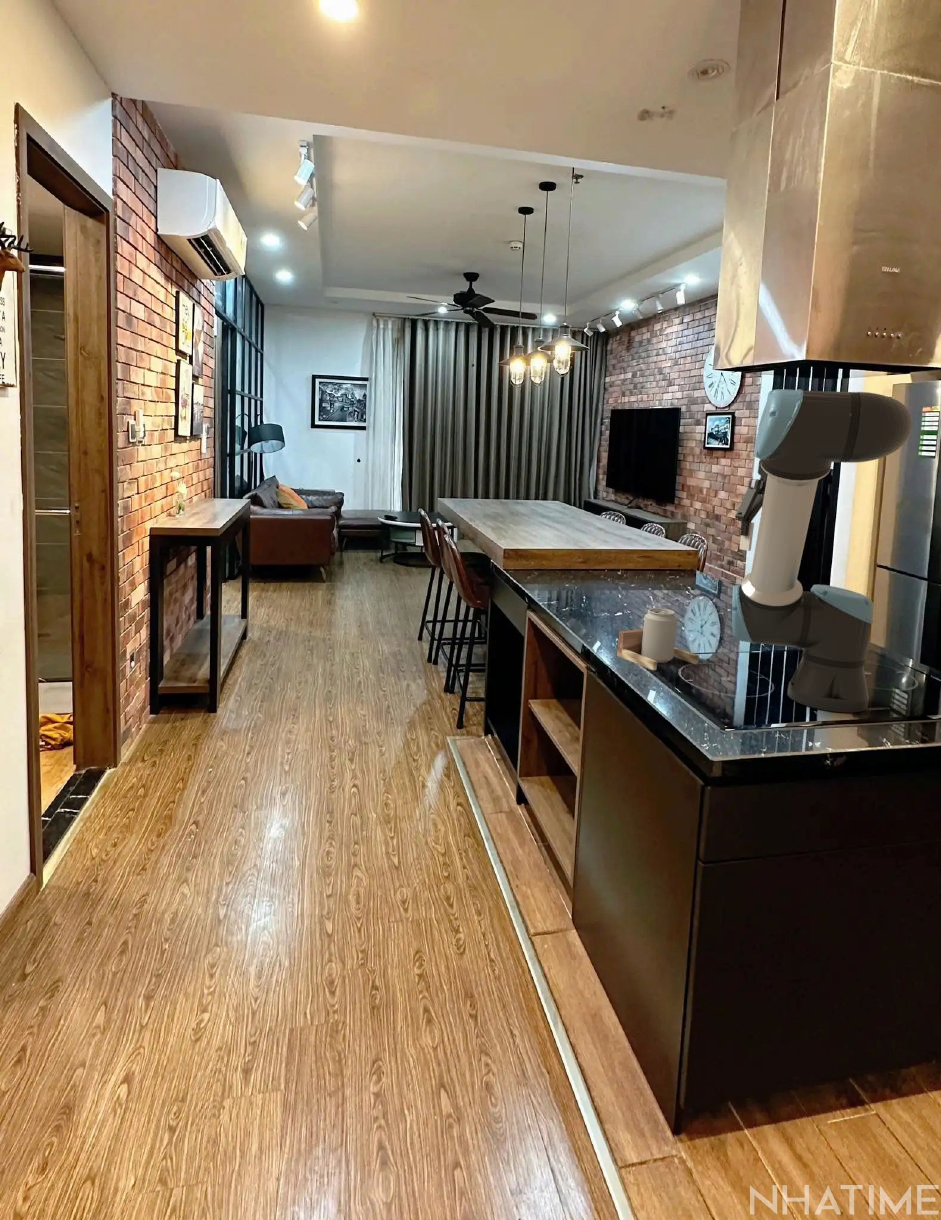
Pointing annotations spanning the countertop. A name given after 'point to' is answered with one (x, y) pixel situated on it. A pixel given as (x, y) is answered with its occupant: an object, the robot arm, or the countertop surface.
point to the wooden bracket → (633, 645)
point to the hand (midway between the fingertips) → (764, 549)
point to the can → (659, 635)
